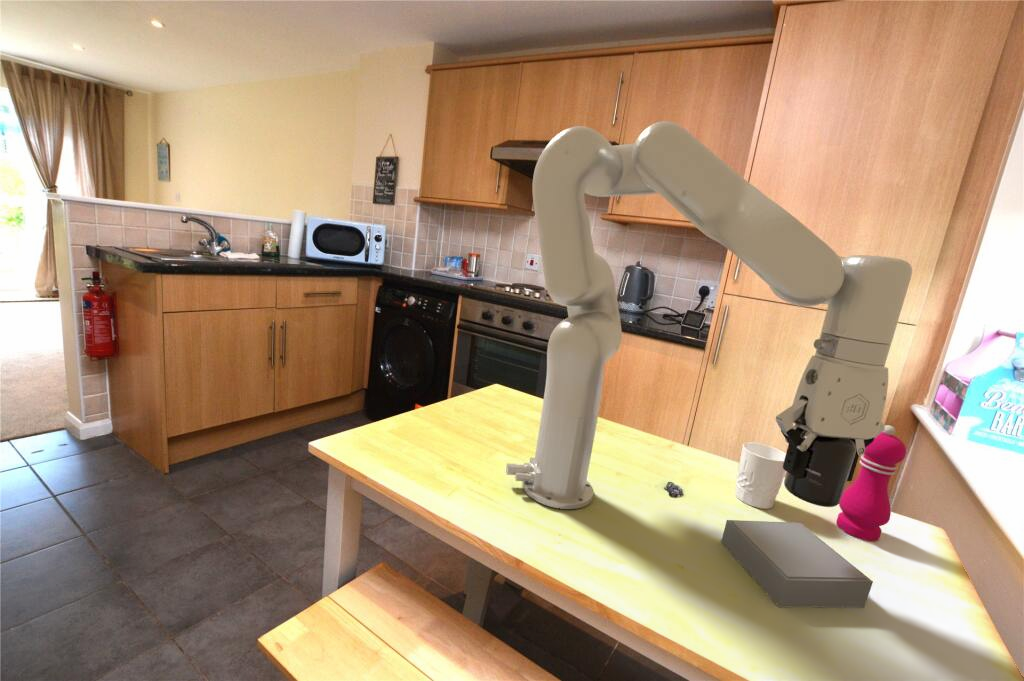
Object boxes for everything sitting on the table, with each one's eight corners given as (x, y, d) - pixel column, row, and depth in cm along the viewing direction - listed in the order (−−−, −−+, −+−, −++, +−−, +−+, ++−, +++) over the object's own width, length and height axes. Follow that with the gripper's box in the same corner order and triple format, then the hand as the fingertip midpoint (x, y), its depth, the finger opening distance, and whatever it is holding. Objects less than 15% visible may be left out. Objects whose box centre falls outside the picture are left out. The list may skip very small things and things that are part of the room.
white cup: (783, 515, 83) (797, 464, 81) (737, 505, 85) (750, 455, 83) (768, 493, 91) (780, 447, 89) (726, 485, 92) (737, 439, 90)
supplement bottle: (787, 498, 62) (809, 415, 60) (779, 477, 69) (799, 402, 66) (846, 514, 60) (872, 429, 58) (832, 491, 66) (855, 413, 64)
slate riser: (779, 607, 60) (787, 579, 59) (721, 542, 72) (726, 519, 71) (864, 607, 62) (873, 580, 61) (793, 544, 74) (800, 521, 73)
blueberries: (655, 501, 84) (658, 492, 83) (648, 477, 91) (650, 469, 91) (693, 508, 83) (695, 499, 83) (682, 483, 91) (684, 475, 90)
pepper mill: (869, 547, 77) (905, 436, 73) (824, 522, 83) (855, 418, 79) (890, 539, 80) (926, 432, 76) (845, 515, 86) (876, 416, 82)
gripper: (815, 352, 55) (779, 486, 59) (935, 364, 58) (894, 492, 62) (772, 339, 62) (743, 459, 66) (881, 350, 65) (847, 465, 69)
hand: (816, 474), depth 64 cm, fingers closed on supplement bottle, 6 cm apart
